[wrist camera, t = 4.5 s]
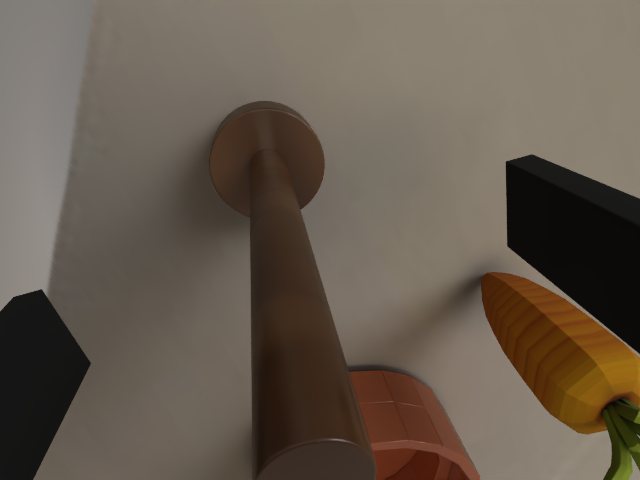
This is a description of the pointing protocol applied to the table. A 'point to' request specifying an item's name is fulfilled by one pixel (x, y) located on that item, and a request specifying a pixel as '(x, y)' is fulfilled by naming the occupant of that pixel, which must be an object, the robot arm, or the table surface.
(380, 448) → the bowl
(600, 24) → the table surface
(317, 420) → the dark brown rod
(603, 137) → the table surface
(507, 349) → the carrot
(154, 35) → the table surface
